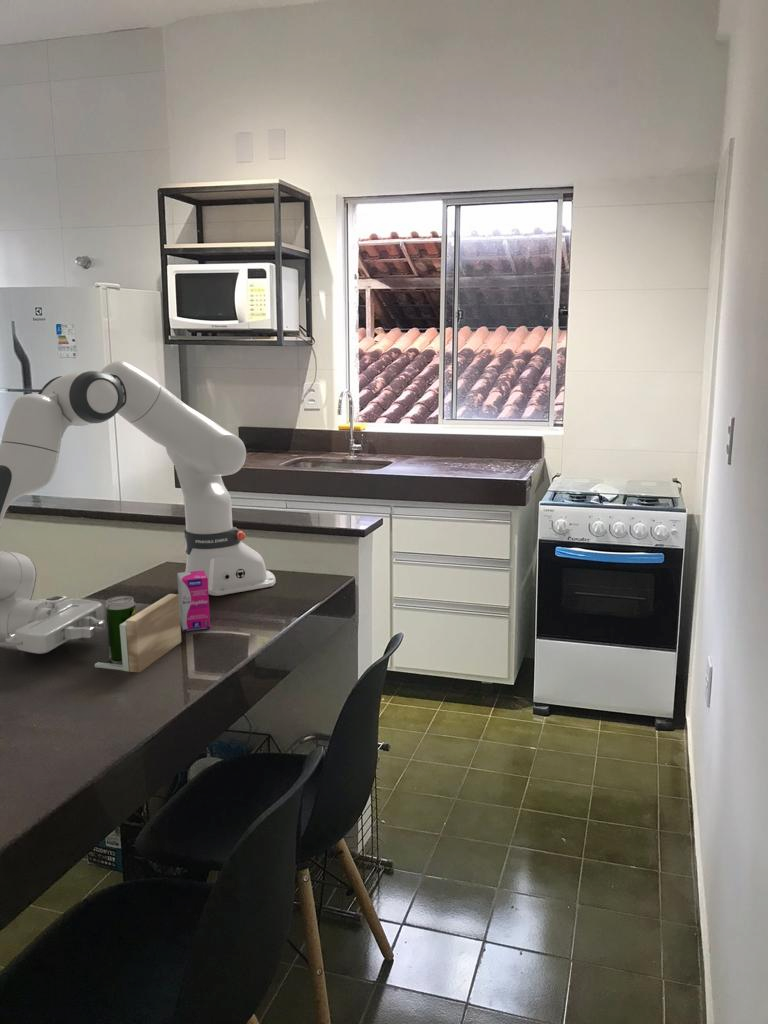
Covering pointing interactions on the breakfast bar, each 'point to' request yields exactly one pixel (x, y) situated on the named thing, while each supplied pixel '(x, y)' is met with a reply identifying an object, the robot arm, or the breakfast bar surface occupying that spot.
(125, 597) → the beer can
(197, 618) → the supplement box
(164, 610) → the oak board
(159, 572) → the breakfast bar surface
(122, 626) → the white legged plate
